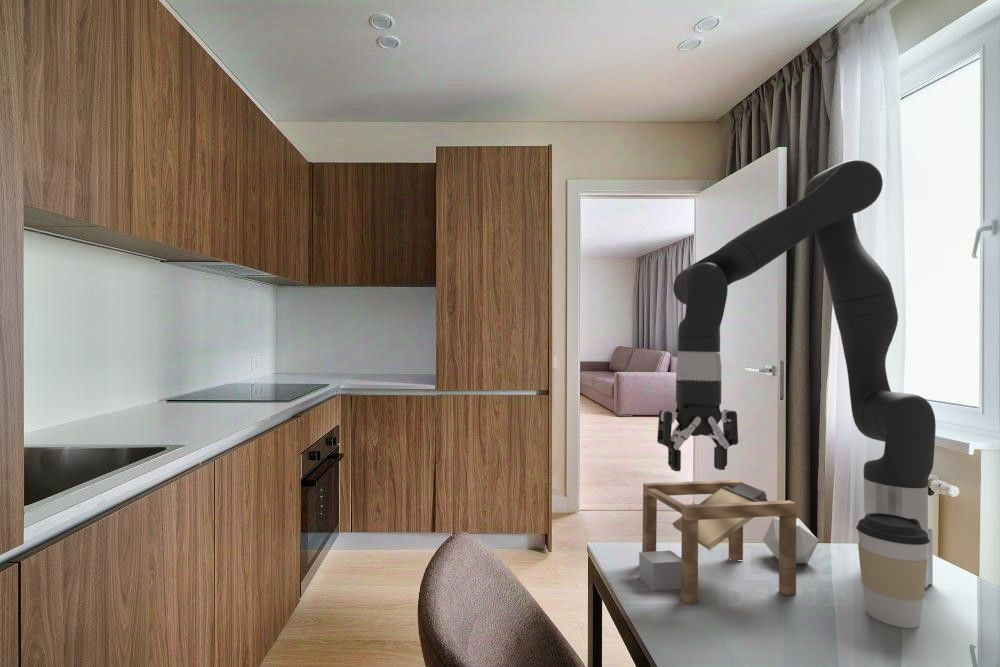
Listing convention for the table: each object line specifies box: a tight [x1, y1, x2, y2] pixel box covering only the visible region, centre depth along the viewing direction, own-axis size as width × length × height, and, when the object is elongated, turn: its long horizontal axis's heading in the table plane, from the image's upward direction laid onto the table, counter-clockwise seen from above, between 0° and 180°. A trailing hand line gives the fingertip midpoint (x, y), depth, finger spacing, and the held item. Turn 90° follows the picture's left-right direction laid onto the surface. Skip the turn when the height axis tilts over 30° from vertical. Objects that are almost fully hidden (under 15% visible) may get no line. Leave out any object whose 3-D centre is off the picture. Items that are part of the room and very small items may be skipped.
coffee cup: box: [855, 513, 930, 629], centre depth 80 cm, size 9×9×15 cm
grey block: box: [638, 550, 681, 592], centre depth 89 cm, size 5×5×6 cm
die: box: [762, 517, 820, 564], centre depth 100 cm, size 8×9×10 cm
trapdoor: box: [671, 482, 769, 551], centre depth 92 cm, size 15×11×3 cm
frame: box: [641, 479, 797, 604], centre depth 91 cm, size 20×15×15 cm
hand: (697, 469), depth 91 cm, fingers open, 8 cm apart
